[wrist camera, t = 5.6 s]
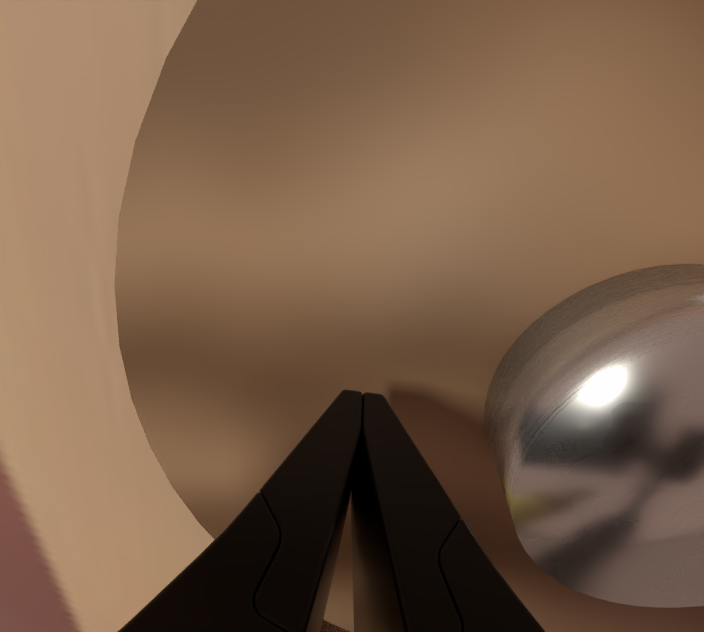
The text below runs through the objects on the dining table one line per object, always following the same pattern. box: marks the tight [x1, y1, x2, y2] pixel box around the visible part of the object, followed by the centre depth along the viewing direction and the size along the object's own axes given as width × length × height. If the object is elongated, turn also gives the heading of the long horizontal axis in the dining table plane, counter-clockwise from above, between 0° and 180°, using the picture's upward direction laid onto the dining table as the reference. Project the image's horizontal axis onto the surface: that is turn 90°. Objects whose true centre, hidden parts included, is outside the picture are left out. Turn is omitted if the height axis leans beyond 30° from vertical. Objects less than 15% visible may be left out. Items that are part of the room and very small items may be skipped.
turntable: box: [115, 0, 704, 632], centre depth 9 cm, size 24×24×6 cm
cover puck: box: [484, 264, 704, 608], centre depth 9 cm, size 7×7×2 cm
